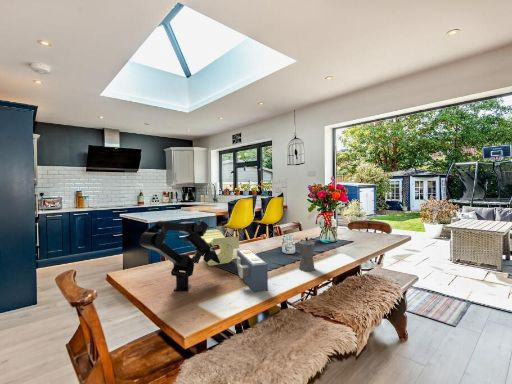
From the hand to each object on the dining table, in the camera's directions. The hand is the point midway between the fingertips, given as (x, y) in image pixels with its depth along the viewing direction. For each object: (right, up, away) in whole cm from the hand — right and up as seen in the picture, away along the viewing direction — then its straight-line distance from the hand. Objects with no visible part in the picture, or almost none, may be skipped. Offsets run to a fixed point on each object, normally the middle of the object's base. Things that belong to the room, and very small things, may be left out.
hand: (219, 262), depth 138 cm
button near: (+14, -3, -10) cm, 18 cm away
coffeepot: (+47, -7, +15) cm, 51 cm away
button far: (+13, -3, +4) cm, 13 cm away
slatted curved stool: (-5, -8, +33) cm, 34 cm away
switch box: (+16, -8, -2) cm, 18 cm away
